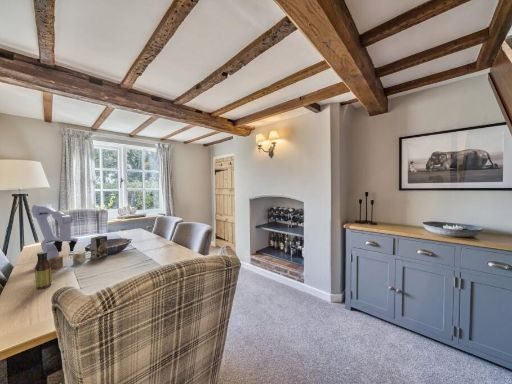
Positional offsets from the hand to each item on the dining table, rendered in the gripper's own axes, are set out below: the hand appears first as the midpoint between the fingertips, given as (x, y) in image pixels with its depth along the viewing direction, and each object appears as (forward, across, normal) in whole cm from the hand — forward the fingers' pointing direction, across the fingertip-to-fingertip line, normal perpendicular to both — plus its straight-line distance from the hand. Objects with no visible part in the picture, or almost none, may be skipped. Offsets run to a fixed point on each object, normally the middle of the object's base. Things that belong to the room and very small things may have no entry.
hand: (65, 251), depth 152 cm
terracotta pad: (+9, -1, -8) cm, 12 cm away
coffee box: (+10, +13, +16) cm, 23 cm away
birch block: (+9, +6, +4) cm, 12 cm away
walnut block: (+9, -1, -8) cm, 12 cm away
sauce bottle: (+10, +11, -33) cm, 36 cm away
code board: (+10, +3, -2) cm, 11 cm away
